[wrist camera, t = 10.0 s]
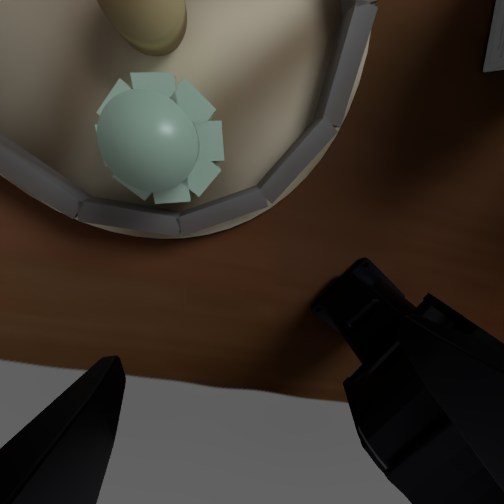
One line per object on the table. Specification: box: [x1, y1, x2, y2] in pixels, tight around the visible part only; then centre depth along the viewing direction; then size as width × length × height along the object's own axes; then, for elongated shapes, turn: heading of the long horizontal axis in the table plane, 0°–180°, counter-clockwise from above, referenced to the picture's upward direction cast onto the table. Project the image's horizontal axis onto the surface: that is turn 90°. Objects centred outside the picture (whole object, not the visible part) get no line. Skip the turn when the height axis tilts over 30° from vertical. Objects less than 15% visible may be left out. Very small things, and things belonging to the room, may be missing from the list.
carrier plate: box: [0, 0, 378, 239], centre depth 12 cm, size 24×24×4 cm
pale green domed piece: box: [95, 72, 224, 204], centre depth 13 cm, size 6×6×6 cm
